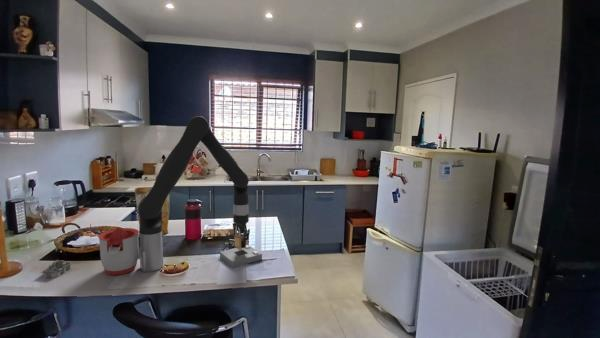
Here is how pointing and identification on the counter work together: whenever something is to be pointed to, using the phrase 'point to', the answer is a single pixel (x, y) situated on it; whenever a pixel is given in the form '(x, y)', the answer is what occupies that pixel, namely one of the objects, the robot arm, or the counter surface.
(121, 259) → the citrus juicer
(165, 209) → the pancake mix bag
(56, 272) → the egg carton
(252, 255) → the socket plate
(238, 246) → the plug
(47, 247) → the counter surface
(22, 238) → the counter surface
